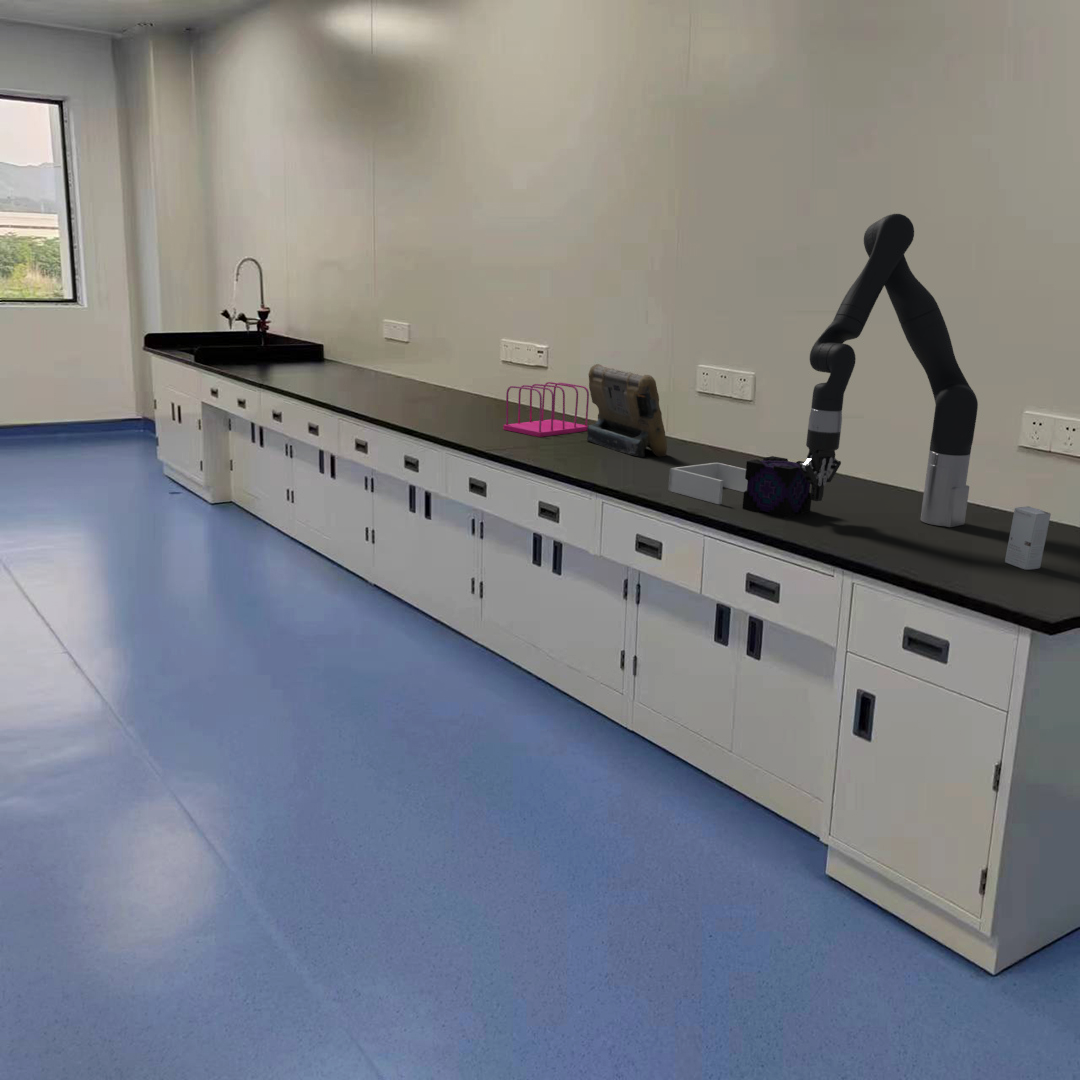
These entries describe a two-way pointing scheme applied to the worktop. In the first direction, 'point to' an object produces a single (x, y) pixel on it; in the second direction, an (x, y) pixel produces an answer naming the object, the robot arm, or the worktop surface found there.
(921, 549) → the worktop surface
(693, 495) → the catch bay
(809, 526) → the worktop surface
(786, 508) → the energy cube
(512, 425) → the file sorter
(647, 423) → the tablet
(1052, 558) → the worktop surface
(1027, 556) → the skincare box
